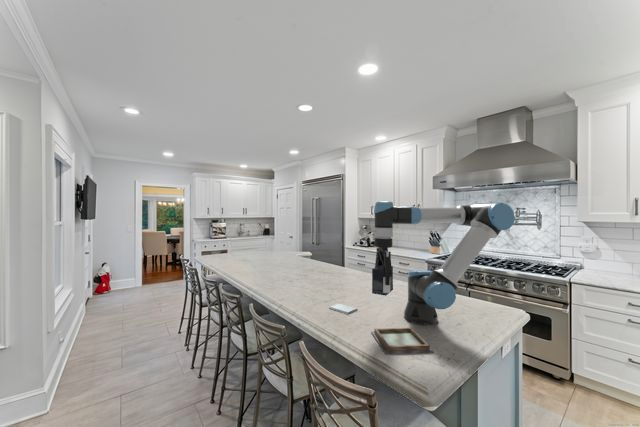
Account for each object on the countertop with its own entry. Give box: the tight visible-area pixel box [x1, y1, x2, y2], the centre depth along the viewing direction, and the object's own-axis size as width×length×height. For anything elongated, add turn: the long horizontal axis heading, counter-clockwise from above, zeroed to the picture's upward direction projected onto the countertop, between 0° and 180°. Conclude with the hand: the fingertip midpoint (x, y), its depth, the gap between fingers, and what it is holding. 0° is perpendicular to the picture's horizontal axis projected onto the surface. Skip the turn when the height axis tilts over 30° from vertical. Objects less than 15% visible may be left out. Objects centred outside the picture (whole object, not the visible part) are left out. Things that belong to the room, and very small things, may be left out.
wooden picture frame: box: [370, 327, 435, 355], centre depth 109 cm, size 18×18×2 cm
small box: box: [371, 265, 394, 296], centre depth 118 cm, size 11×6×10 cm, turn 150°
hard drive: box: [328, 302, 358, 315], centre depth 145 cm, size 2×8×12 cm
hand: (382, 288), depth 118 cm, fingers closed on small box, 12 cm apart
